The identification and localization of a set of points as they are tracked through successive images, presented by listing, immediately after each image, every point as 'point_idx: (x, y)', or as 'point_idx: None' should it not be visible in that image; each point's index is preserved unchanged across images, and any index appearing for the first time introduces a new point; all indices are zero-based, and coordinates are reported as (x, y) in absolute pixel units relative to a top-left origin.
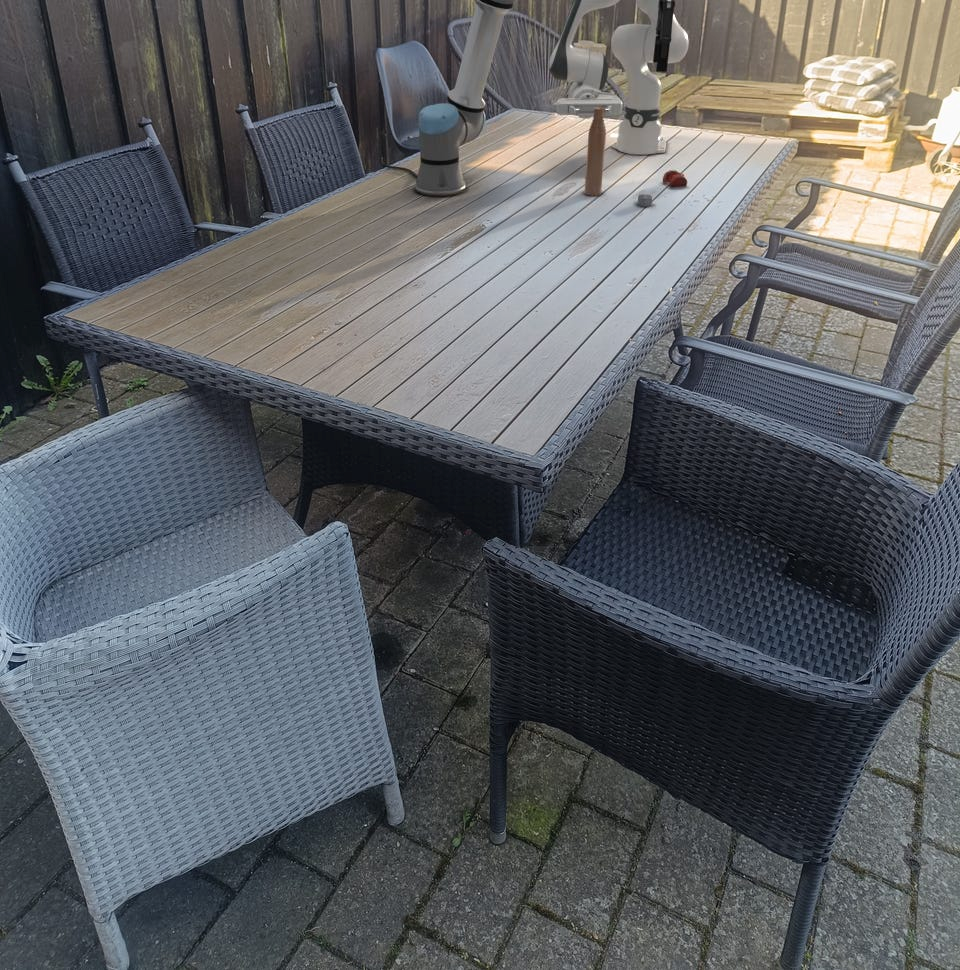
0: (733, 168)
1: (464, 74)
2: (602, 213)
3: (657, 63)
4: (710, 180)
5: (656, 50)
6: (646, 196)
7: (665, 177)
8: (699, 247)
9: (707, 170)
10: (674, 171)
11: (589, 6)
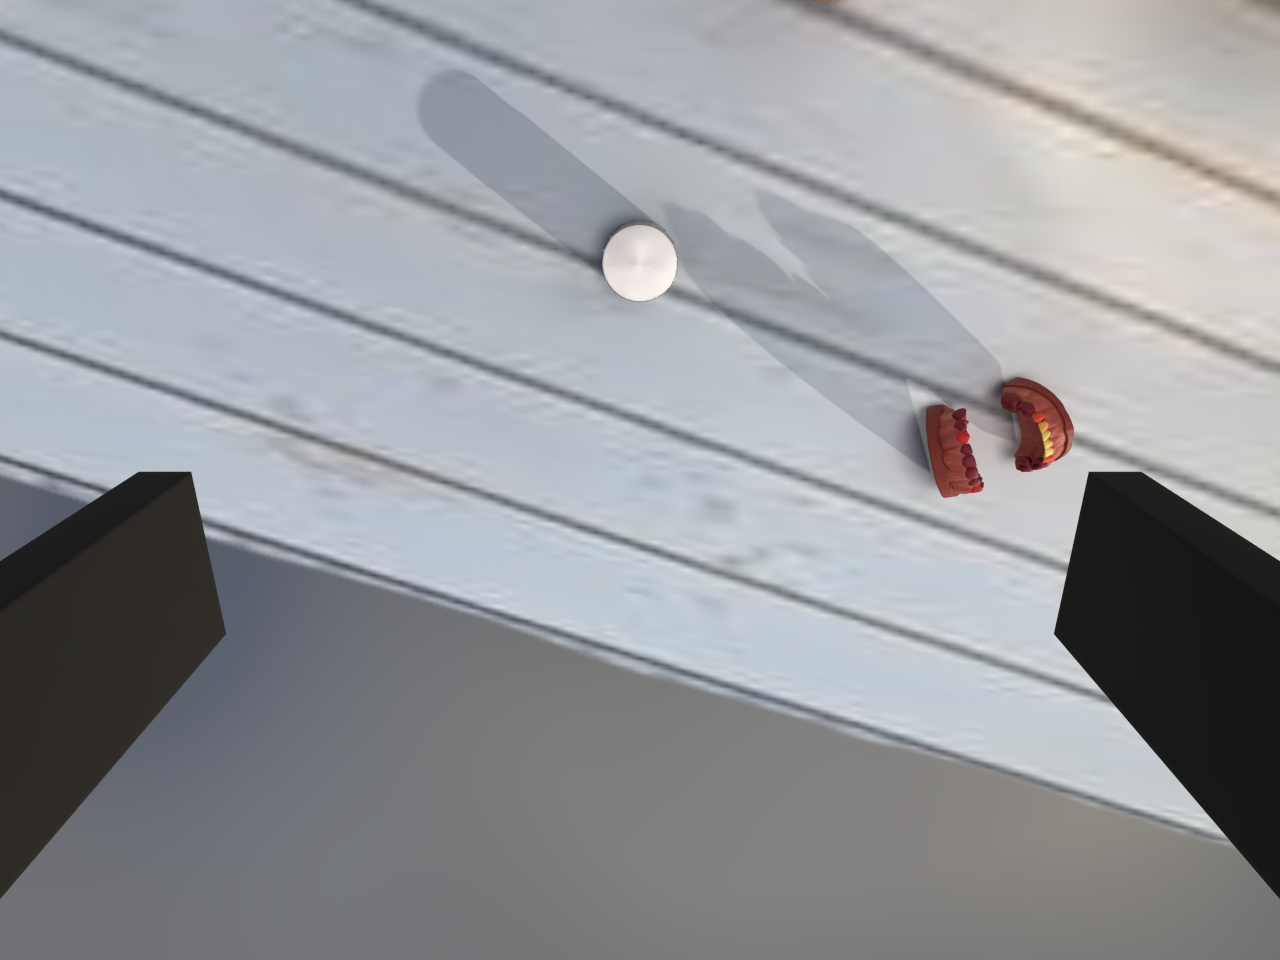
0: None
1: None
2: (456, 8)
3: (48, 538)
4: (1052, 603)
5: (1218, 615)
6: (640, 270)
7: (1014, 395)
8: (83, 466)
9: None
10: (1046, 448)
11: None
